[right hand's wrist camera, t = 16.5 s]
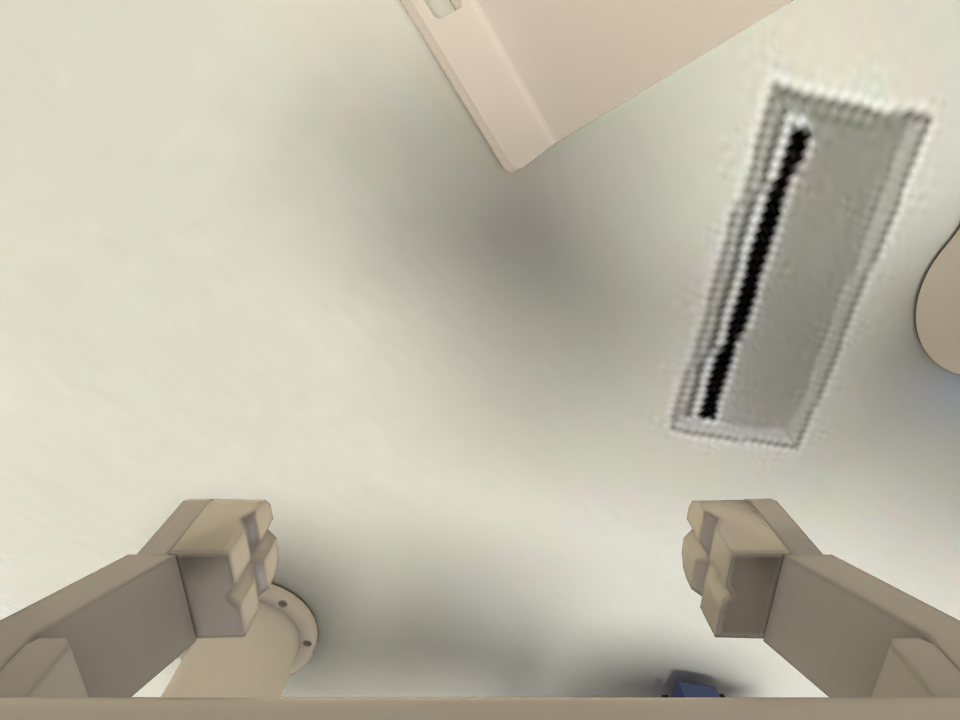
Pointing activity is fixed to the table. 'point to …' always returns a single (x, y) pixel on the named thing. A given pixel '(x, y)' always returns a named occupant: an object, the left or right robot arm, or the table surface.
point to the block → (694, 691)
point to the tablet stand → (568, 58)
